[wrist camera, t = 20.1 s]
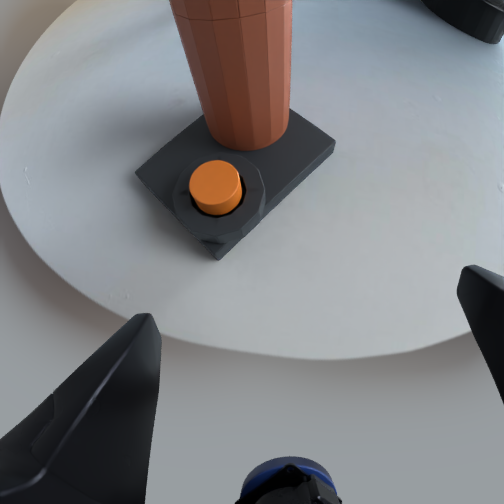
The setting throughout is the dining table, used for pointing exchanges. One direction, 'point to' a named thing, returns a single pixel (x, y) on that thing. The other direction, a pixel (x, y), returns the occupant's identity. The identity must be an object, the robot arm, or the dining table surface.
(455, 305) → the dining table surface
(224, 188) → the button
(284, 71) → the jar
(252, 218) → the scale
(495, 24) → the hut
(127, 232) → the dining table surface
